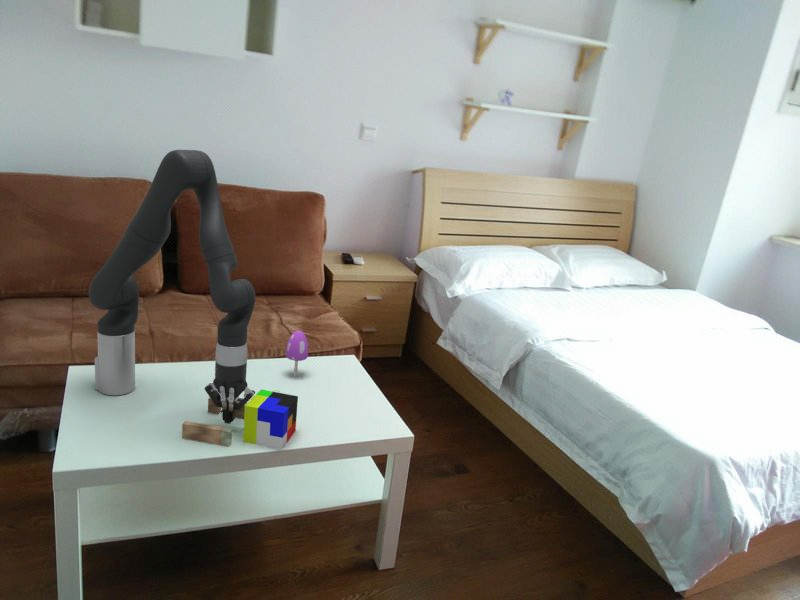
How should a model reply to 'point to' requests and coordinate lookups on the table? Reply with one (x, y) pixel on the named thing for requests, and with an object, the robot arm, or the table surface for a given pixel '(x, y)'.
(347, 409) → the table surface
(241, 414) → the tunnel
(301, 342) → the toy
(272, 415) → the puzzle toy
